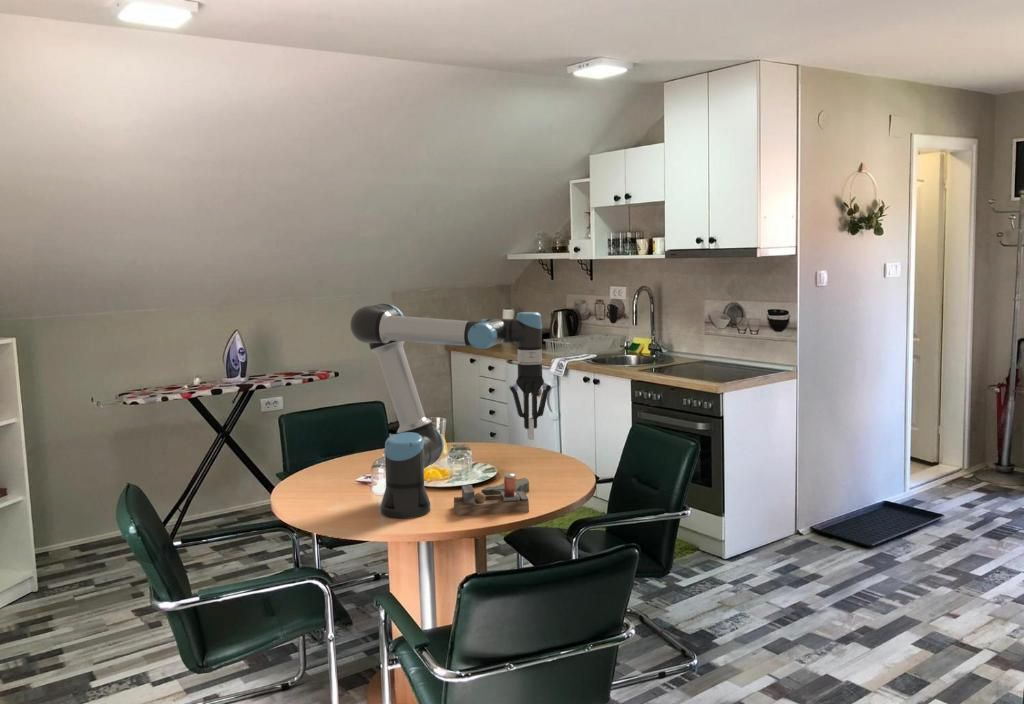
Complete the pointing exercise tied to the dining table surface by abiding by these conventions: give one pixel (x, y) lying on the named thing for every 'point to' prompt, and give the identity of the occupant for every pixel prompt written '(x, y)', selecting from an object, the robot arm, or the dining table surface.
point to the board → (487, 504)
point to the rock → (495, 490)
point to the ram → (509, 489)
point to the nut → (479, 498)
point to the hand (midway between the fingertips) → (530, 438)
